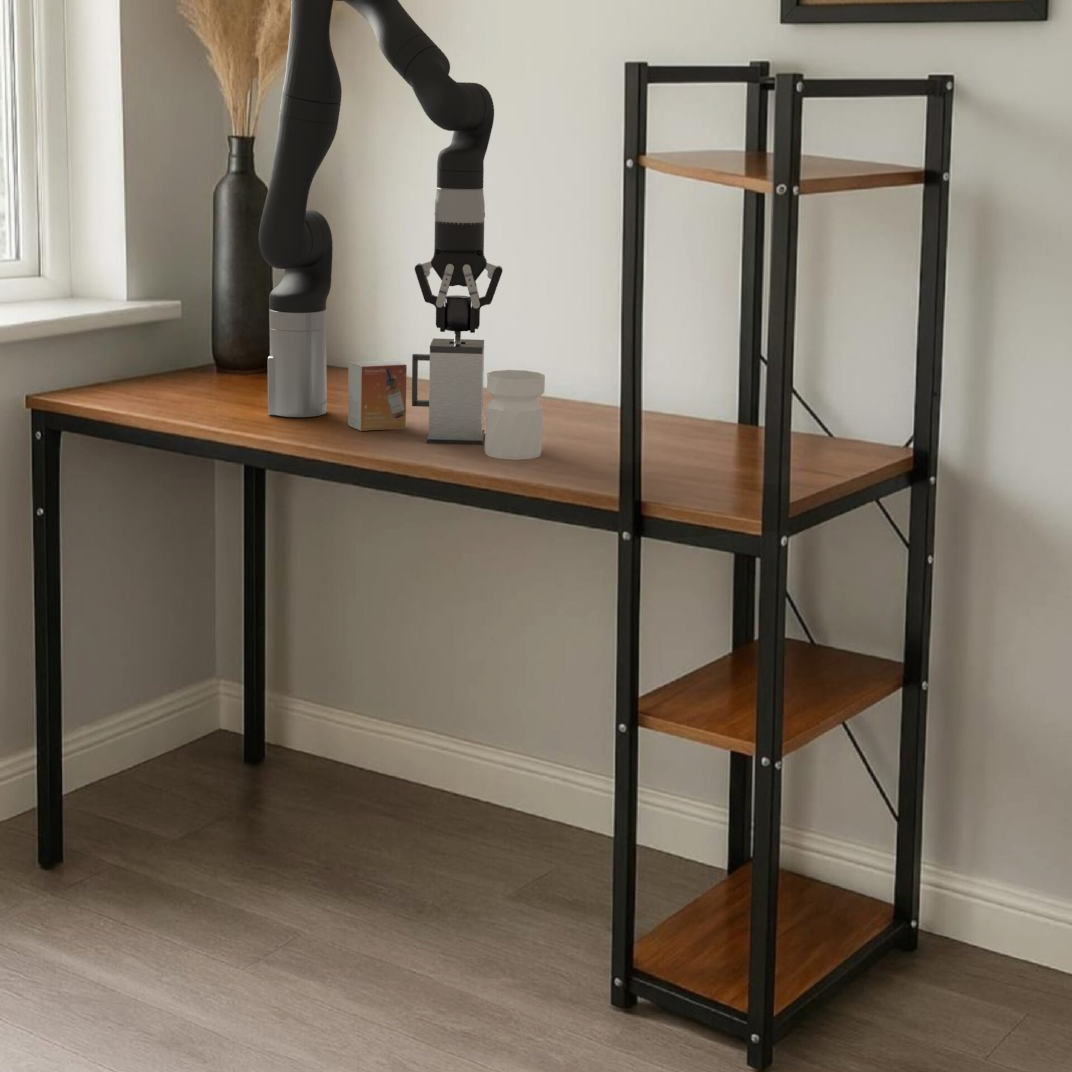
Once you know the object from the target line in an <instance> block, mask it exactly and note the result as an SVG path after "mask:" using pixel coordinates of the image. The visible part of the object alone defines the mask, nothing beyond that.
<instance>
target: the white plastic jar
mask: <svg viewBox="0 0 1072 1072" xmlns="http://www.w3.org/2000/svg"><path fill="white" fill-rule="evenodd" d="M486 376H487V378H486V379H487V385H486V392H487V393H488V395H490V396H491V397H492V398H493V399H492V400H491V401H489V402H487V403H486V405H485V422H486V427H485V433H484V453H485V455H487V456H488V457H491V458H495V459H500V460H516V461H517V460H519V461H520V460H533V459H536V458H538V457H541V453H542V450H543V448H542V447H543V440H544V406H543V404H542V403H541V402H540V401H539V400H538V398H540V397H541V396H542V395H544V393H545V385H546V383H545V382H546V378H545V376H546V375H545V373H544V374H543V373H541V372H538V371H531V370H525V369H524V370H522V369H521V370H518V369H516V370H515V369H503V370H493V371H490V372H487V373H486Z"/></svg>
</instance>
